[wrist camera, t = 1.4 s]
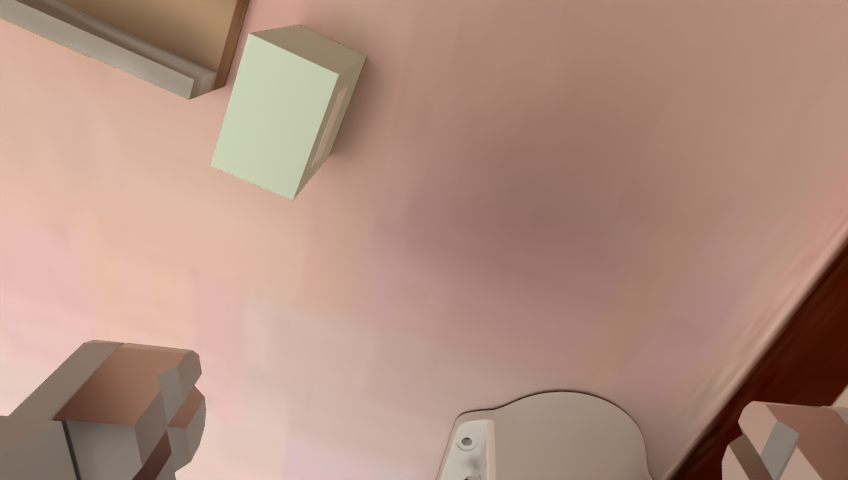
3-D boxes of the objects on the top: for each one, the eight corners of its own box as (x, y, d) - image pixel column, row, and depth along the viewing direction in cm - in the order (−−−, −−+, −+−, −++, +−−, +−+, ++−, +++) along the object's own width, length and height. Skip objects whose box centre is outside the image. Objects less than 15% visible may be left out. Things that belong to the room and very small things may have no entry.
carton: (367, 56, 34) (340, 74, 26) (329, 155, 37) (293, 200, 29) (298, 24, 34) (247, 32, 25) (265, 127, 36) (209, 165, 28)
